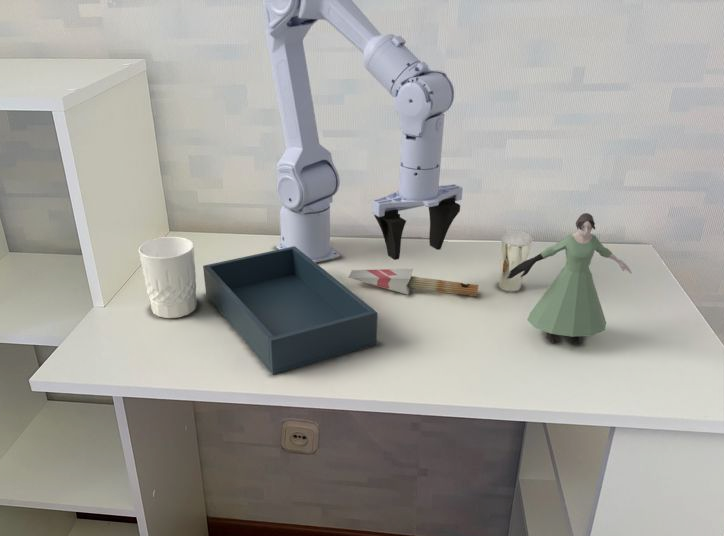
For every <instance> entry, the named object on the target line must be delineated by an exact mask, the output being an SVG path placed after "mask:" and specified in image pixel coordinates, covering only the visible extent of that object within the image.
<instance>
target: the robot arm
mask: <svg viewBox="0 0 724 536" xmlns="http://www.w3.org/2000/svg"><path fill="white" fill-rule="evenodd" d="M262 6H263V10H264V18H265V27H264V32H265V40H266V45H267V50H268V56H269V62H270V68H271V74H272V79H273V83H274V84H273V85H274V90H275V95H276V100H277V105H278V111H279V117H280V122H281V128H282V133H283V139H284V145H285V148H286V149H285V151H284V152H283V154H282V156H281V157H280V159H279V160H278V162H277V164H276V167H275V168H276V172H277V180H276V186H275V187H276V194H277V197H278V198H279V199H278V200H279V201H280V203H281V204H282V207H281V209H280V212H279V224H280V243H278V244H276V245H275V246H276V248H277V250H279V249H284V248H288V247H293V246H295V247H296V248H298V249H299V250H300V251H301V252H303V253H304V254H305V255H306V256H308V257H309V258H310V259H311V260H313V261H314V262H315V263H316V264H317V263H320V262H325V261H329V260H334V259H338V258H340V257H341V256H340V253H338V252H337V251H336V250H334V249H333V248H331V203H333V197H334V196H335V195H336V194H337V192H338V191H339V189H340V183H341V182H340V181H341V179H340V175H339V172H338V170H337V168H336V166H335V164H334V161H333V157H332V153H331V151H330V150H329V149H328V148H326V147H325V146H323V145H322V144H321V143H320V139H319V133H318V127H317V126H318V125H317V119H316V114H315V108H314V101H313V95H312V90H311V84H310V83H311V82H310V77H309V71H308V65H307V58H306V53H305V47H304V39H305V37H306V36H307V35H308V33H309V31H310V30H311V28H312V27H313V26H314V25H315V24H316V23H317V22H319V21H320V20H322V21H326V22H327V23H328V24H329V25H330V26H332V27H333V28H334V29H335V30H336V31H337V32H338V33H339V34H341V35H342V36H343V37H344V38H345V39H346V40H347V41H348V42H349V43H350V44H352V45H353V46H354V47H355V48H356V49H357V50H359V51H360V52H361V53H362V54H363V66H364V68H365V70H366V71H367V72H368V73H369V74H370V75H371V76H372V77H373V78H374V79H375V80H376V81H377V82H378V83H379V84H380V85H381V86H382V88H384V89H385V90H386V92H387V93H389V94H390V95H391V97H393V105H394V109H395V112H396V114H397V116H398V118H399V130H401V139H400V157H399V176H398V190H397V191H395V192H392V193H390V194H387V195H385V196H381V197H380V198H376V199H372V200H371V214H372V215H373V216H374V218H375V220H376V221H377V223H378V225H379V228H380V230H381V233H382V235H383V236H382V237H383V239H384V241H385V242H384V243H385V247H386V252H387V256H388V257H389V258H391V259H393V260H395V261H396V260H400V255H401V245H402V244H401V243H402V238H403V237H402V236H403V231H404V229H405V226H406V224H407V220H406V219H404V218H403V217H401V214H400V213H399V212H400V211H405V210H410V209H411V210H412V209H415V208H421V207H426V208H428V213H429V235H428V237H429V238H428V239H429V246H430V248H433V249H435V250H436V251H439V250H441V249H442V247H443V244H444V241H445V238H446V236H447V233H448V231H449V229H450V227H451V226H452V223H453V222H454V220H455V218H456V217H457V216H458V215H459V213H460V211H461V204H459V203H458V202H459V201H462V199H463V189H464V188H463V187H462V186H460V185H458V184H455V183H454V184H446V185H440V176H441V164H442V150H443V149H442V148H443V137H444V127H445V113H446V112H448V111H449V109H450V108H451V107H452V105H453V103H454V99H455V89H454V85H453V82H452V81H451V79H450V78H449V77H448V75H447V73H446V72H444V71H443V70H439V69H438V70H437V69H434V70H433V69H431V68H429V65H428V63H426V62H425V61H421V60H420V59H419V58H418V57H417V56H416V55H415V54H414V53H413V52H412V51H411V50H410V49H409V48H408V47H407V46H406V45H405V44H406V43H407V41H406V40H405V39H404V38H403V37H402V36H401V35H395V34H394V33H393V34H392V33H385V34H382V33H381V32H380V31H379V30H378V28H377V27H375V25H374V24H373V23H372V22H371V21H370V19H369V18H368V17H367V16H366V15H365V13H363V11H362V10H361V9H360V8H359V7H358V5H357V4H356V3H355V2H354V1H353V0H262Z"/></svg>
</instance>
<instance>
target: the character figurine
mask: <svg viewBox="0 0 724 536" xmlns="http://www.w3.org/2000/svg"><path fill="white" fill-rule="evenodd" d="M575 226H576V231H575V232H573V233H570V234H568V235H566V236H565V237H564V238H563V239H561V240H560V241H558V242H557V243H555V244H553V245H550V246H549V247H547V248H545V249H544V250H542V251H541V252H540V253H538V254H537V255H535V256H533V257H531V258H528V259H527V260H526V261H524V262H522V263H521V264H519V265H518V266H516V267H515V268H514V269H512V270H511V271H510V272H511V273H510V272H509V273H510V274H509V273H508V274H509V276H508V275H507V276H508V277H507V276H506V277H507V278H508V279H509V278H510V279H511V278H513V277H514V276H516V275H517V274H519V273H521V272H522V271H524V273H523V274H522V275H521V277H522V276H523V277H525V276H527V274H528V273H529V272H530V270H531V269H532V267H533V266H534V265H535V264H536V263H537V262H539V261H540V262H541V261H543V260H545V259H547V258H549V257H553V256H555V255H556V254H557V253H559V252H561V251H563V250H565V259H566V260H565V261H566V262H565V266H564V267H563V268H561V270H560V271H559V273H558V275H557V276H556V278H555V279H554V280H553V282H552V284H550V286H549V287H548V288H547V289H546V291H545V292H544V294H543V295H542V296H541V297H540V299H539V300H538V301H537V303H536V304H535V306H534V307H533V308H532V309H531V310H530V312H529V314H528V317H527V320H526V321H527V322H528V323H529V324H530V325H531V326H532V327H534V328H535V329H537V330H540V331H542V332H545V333H546V334H545V336H546V339H547V341H548V342H549V343H550V344H552V345H553V344H556V343H557V336H564V337H565V336H566V337H569V338H570V341H571V343H572V344H574V345H580V343H581V339H580V337H589V336H595V335H597V334H599V333H602V332H604V331H606V326H607V321H606V317H605V314H604V311H603V308H602V305H601V301H600V298H599V295H598V291H597V289H596V285H595V283H594V277H593V273H592V271H591V269H590V265H591V263H592V260H593V257H594V254H595V252H597V253H598V254H599V255H600V257H603V258H605V259H606V258H607V259H610V260H613V261H615V262H616V263H617V264H618V266H619V268H620V269H621V271H622V272H625V270H626V271H627V272H628V273H629V274H631V275H632V270H631V269H630V267H629V266H628V264H626V263H625V262H624V261H623V260H622V259H619V258H618V257H617V256H616V255H615V254H614V253H613V252H612V251H611V250H610V249H609V248H607V247H605V246H604V245H603V243H601V241H600V240H599V238H598V237H597V235H595V234H593V233H591V232H592V230H596V223H595V219H594V216H593V215H592V214H591V213H588V212H584V213H582V214H580V215H579V217H578V218H577V220H576V222H575ZM507 278H506V279H507ZM508 279H507V280H508ZM556 335H557V336H556Z"/></svg>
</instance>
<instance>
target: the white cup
mask: <svg viewBox="0 0 724 536" xmlns="http://www.w3.org/2000/svg"><path fill="white" fill-rule="evenodd" d="M138 255H139V259H140V265H141V269H142V275H143V279H144V284H145V288H146V292H147V296H148V298H149V303H150V309H151V311H152V312H153V313H152V314H153V315H155V316H157V317H159V318H164V319H176V318H182V317H185V316H189V315H190V314H191V313H194V311H195V310H196V308H197V305H198V303H197V282H196V279H197V276H196V275H197V273H196V259H195V244H194V242H193V241H192V240H190V239H188V238H186V237H181V236H162V237H157V238H152V239H150V240H147V241H145V242H144V243H142V244H141V245H140V246H139V247H138Z"/></svg>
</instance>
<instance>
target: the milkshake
mask: <svg viewBox="0 0 724 536" xmlns="http://www.w3.org/2000/svg"><path fill="white" fill-rule="evenodd" d="M537 234H538V232H535V233H534V235H533V236H532V237H531V235H530V234H528V233H527V232H525V231H520V230H518V229H517V230H516V229H511V230H509V231H506V232H505V233H504V234H502V236H501V238H500V259H499V260H500V261H499V276H498V277H499V278H498V286H499V289H500V290H503V291H506V292H518V291H520V289H521V288H522V284H523V279H524V276H522V277H521V275H522V274H523V273H524V271H522V272H521V273H519V274H517V275H516V276H514V277H513V278H511V279H510V278H509V279H508V278H507V277H508V276H509V274H510V273H511V272H510V271H511V270H512V269H514V268H515V267H516V266H518V265H519V264H521V263H522V262H524V261H526V260H529V255H530V251H531V247H532V244H533V241H534V238H536V235H537ZM509 272H510V273H509ZM508 273H509V274H508ZM507 275H508V276H507ZM506 276H507V277H506ZM506 278H507V279H508V280H507V279H506Z"/></svg>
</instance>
